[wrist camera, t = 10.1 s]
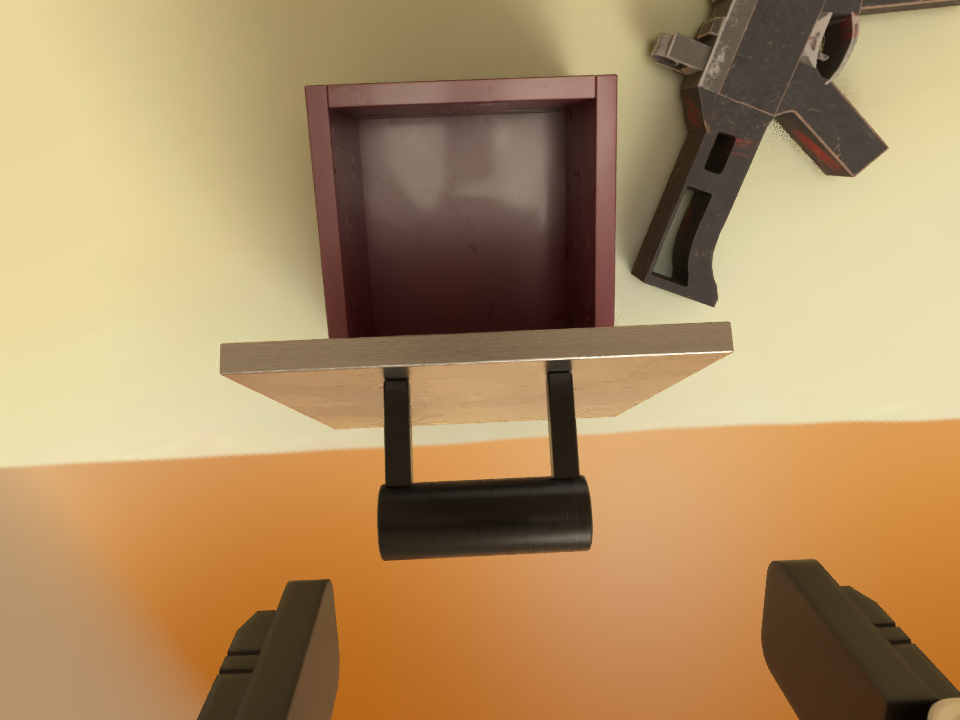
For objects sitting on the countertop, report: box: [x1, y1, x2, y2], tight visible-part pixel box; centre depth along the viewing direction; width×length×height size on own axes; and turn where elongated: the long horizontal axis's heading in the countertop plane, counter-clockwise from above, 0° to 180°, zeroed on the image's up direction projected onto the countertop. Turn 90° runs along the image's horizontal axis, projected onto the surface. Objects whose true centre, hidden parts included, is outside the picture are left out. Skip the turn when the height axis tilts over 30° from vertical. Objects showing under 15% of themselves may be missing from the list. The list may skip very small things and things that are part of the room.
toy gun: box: [631, 0, 960, 307], centre depth 37 cm, size 3×32×15 cm
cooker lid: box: [220, 322, 734, 561], centre depth 25 cm, size 15×13×6 cm
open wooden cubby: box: [305, 74, 617, 339], centre depth 36 cm, size 14×13×10 cm
